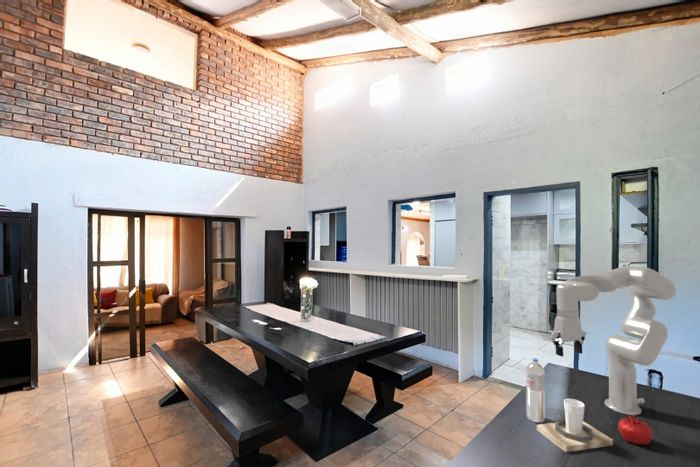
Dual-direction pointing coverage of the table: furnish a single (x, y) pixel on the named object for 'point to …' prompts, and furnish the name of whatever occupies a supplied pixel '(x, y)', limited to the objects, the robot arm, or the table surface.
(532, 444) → the table surface
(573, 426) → the cup
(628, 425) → the pomegranate
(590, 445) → the seat board
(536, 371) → the water bottle
